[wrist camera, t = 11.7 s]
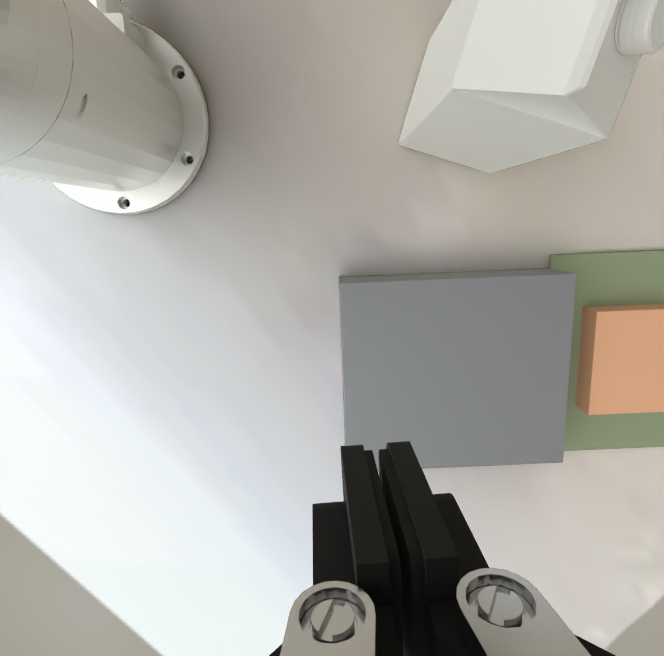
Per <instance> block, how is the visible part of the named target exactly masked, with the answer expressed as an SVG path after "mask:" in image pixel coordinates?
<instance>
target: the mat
mask: <svg viewBox="0 0 664 656" xmlns="http://www.w3.org/2000/svg"><path fill="white" fill-rule="evenodd" d="M549 268H551V269H556V270H560V271H565V272H570V273H575V274H576V285H575V299H574V312H573V326H572V340H571V354H570V368H569V382H568V396H567V410H566V424H565V438H564V451H572V450H595V449H618V448H641V447H664V412H649V413H626V414H603V415H588V414H586V413H585V412H584V411H582V410H581V409H580V408H578V407H577V406H575V400H576V387H577V374H578V361H579V347H580V334H581V321H582V308H583V307H598V306H622V305H645V304H663V305H664V250H656V251H632V252H608V253H584V254H560V255H550V262H549Z"/></svg>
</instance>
